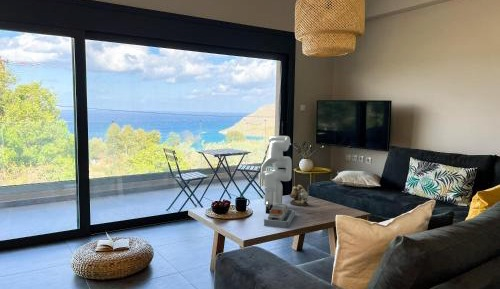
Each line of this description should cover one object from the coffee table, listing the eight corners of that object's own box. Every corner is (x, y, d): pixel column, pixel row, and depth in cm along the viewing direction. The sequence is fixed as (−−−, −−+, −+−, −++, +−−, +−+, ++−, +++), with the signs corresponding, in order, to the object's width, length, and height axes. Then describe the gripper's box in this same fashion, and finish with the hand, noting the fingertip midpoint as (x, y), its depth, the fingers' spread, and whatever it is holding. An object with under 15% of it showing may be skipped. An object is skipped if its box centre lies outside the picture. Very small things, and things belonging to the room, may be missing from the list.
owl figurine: (286, 204, 319) (286, 184, 318) (292, 201, 329) (293, 182, 327) (305, 207, 309) (305, 187, 307) (311, 204, 318) (311, 185, 317)
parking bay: (273, 213, 291) (273, 208, 291) (294, 214, 287) (294, 209, 286) (264, 225, 260) (264, 219, 260) (287, 227, 256) (288, 222, 256)
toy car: (267, 224, 264) (267, 210, 263) (274, 214, 287) (274, 202, 286) (281, 225, 261) (282, 211, 260) (288, 215, 284) (288, 203, 283)
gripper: (267, 186, 283) (267, 208, 284) (261, 191, 266) (261, 214, 268) (277, 187, 281) (276, 209, 282) (272, 192, 264) (271, 215, 266)
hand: (269, 211), depth 275 cm, fingers open, 9 cm apart
